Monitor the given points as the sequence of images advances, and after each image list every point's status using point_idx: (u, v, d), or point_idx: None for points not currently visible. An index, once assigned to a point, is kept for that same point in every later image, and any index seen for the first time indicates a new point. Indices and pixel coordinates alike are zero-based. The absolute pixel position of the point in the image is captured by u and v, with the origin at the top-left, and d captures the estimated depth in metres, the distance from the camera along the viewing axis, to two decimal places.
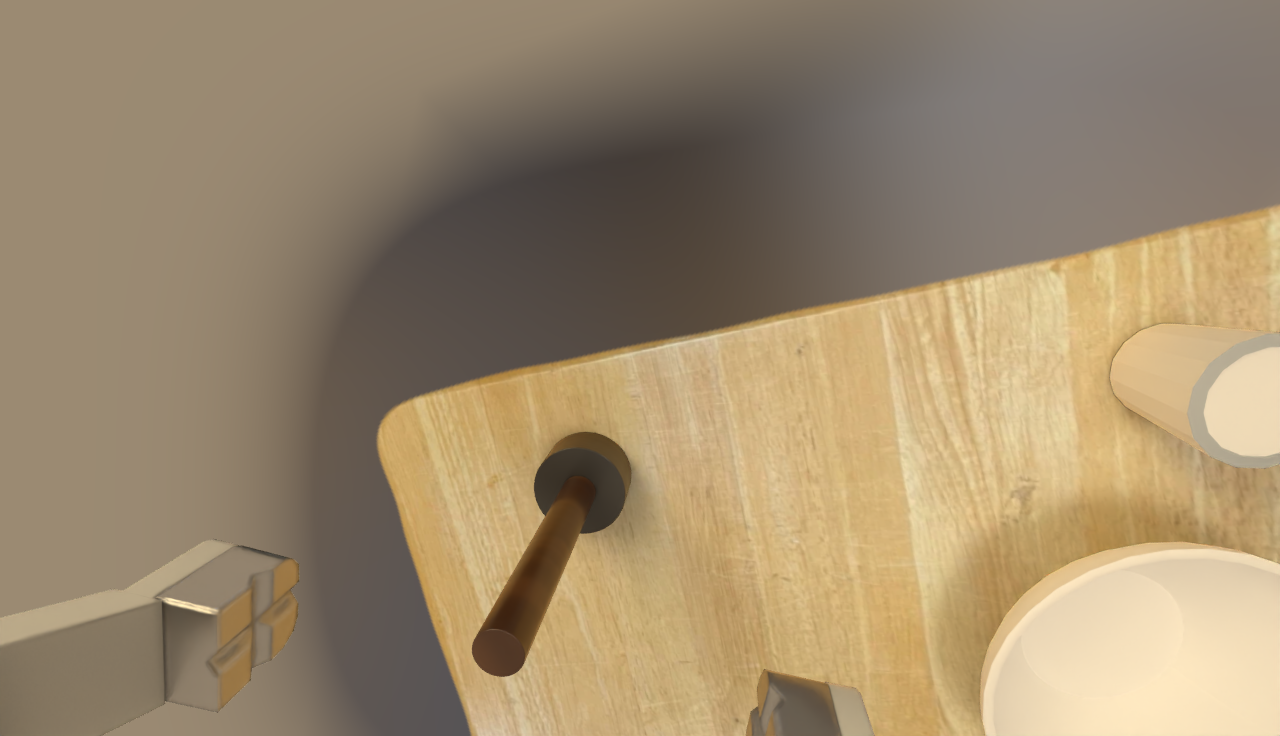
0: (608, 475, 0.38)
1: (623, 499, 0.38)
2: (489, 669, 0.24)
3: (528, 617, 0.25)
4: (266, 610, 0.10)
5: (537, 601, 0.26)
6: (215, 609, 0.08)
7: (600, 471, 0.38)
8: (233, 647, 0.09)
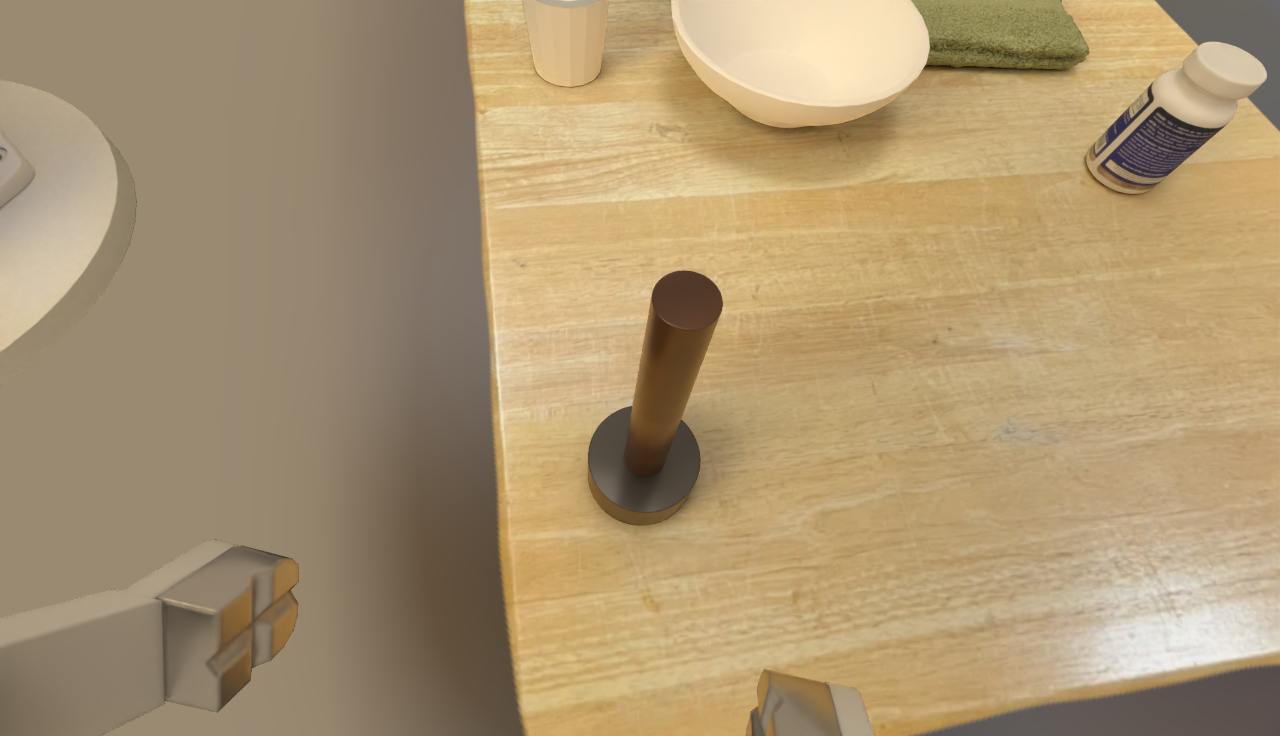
0: (624, 420, 0.32)
1: None
2: (712, 312, 0.18)
3: None
4: (266, 610, 0.10)
5: None
6: (215, 609, 0.08)
7: (619, 429, 0.32)
8: (233, 647, 0.09)
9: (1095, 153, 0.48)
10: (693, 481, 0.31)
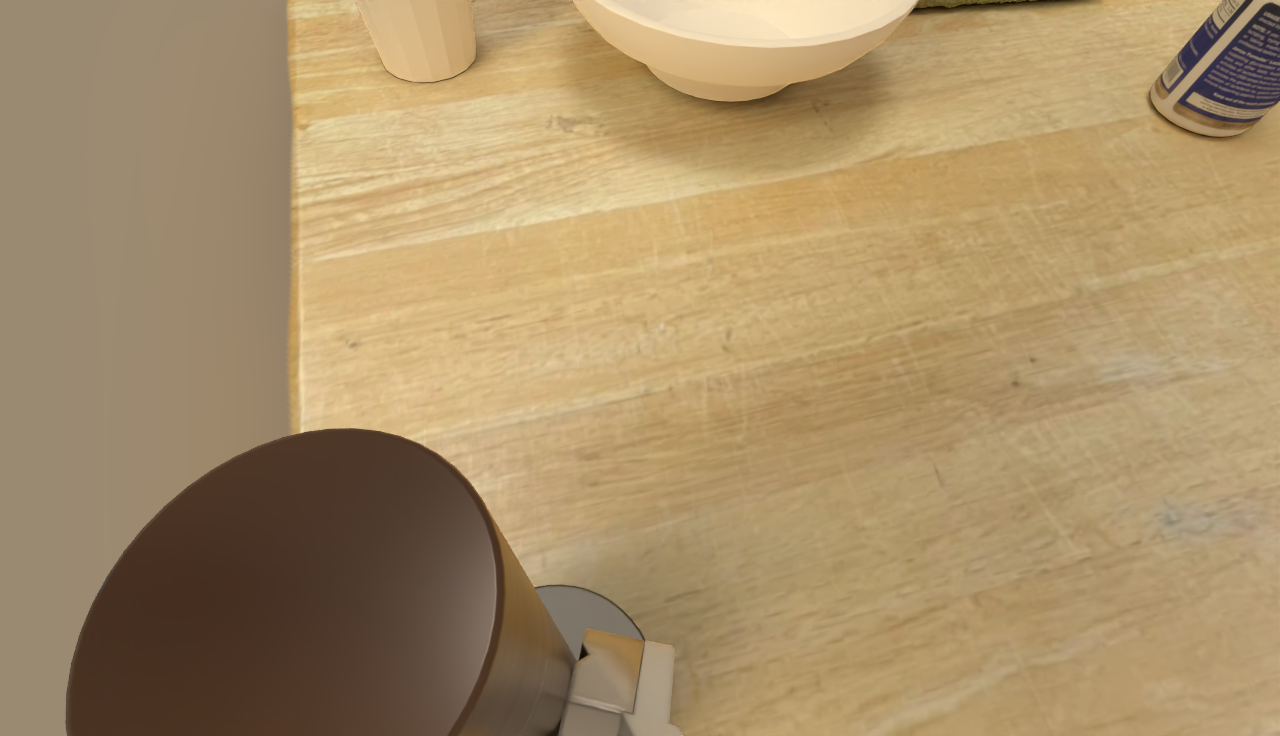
0: None
1: (566, 587, 0.18)
2: (436, 689, 0.03)
3: None
4: None
5: None
6: None
7: None
8: None
9: (1166, 88, 0.35)
10: None
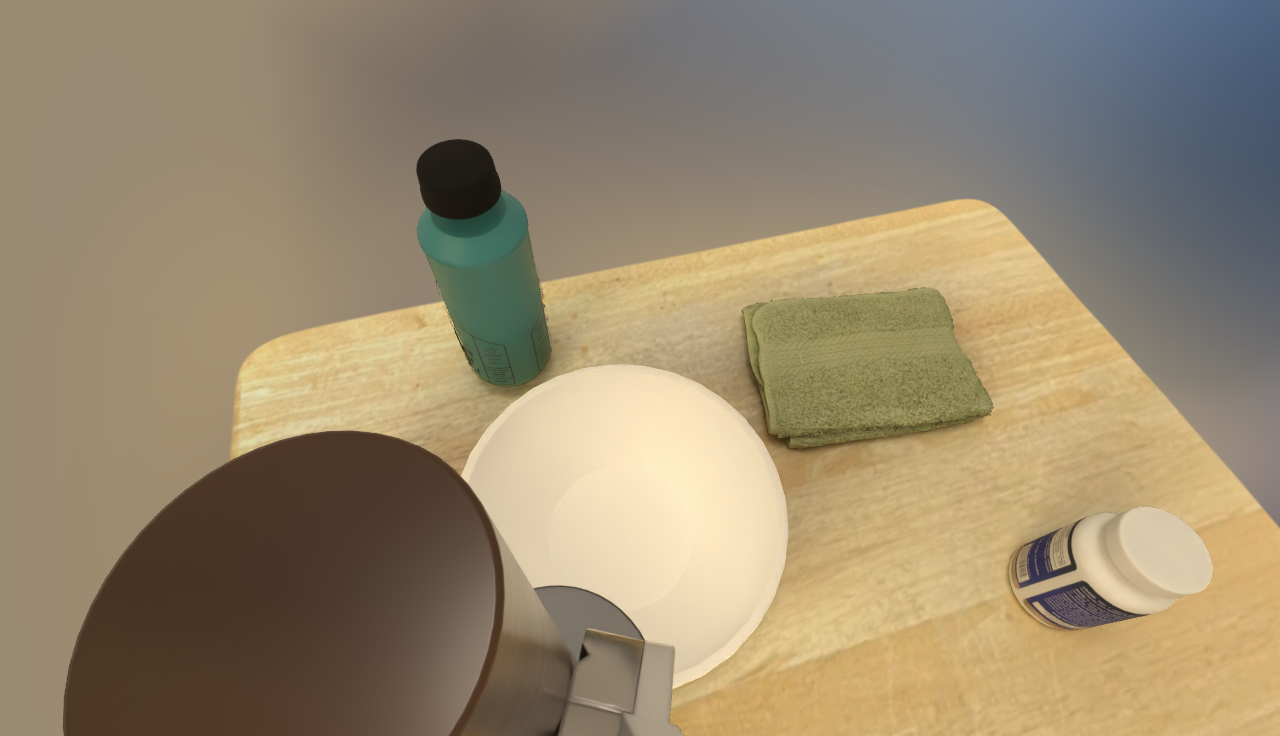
0: None
1: (566, 588, 0.18)
2: (435, 692, 0.03)
3: None
4: None
5: None
6: None
7: None
8: None
9: (1018, 581, 0.39)
10: None
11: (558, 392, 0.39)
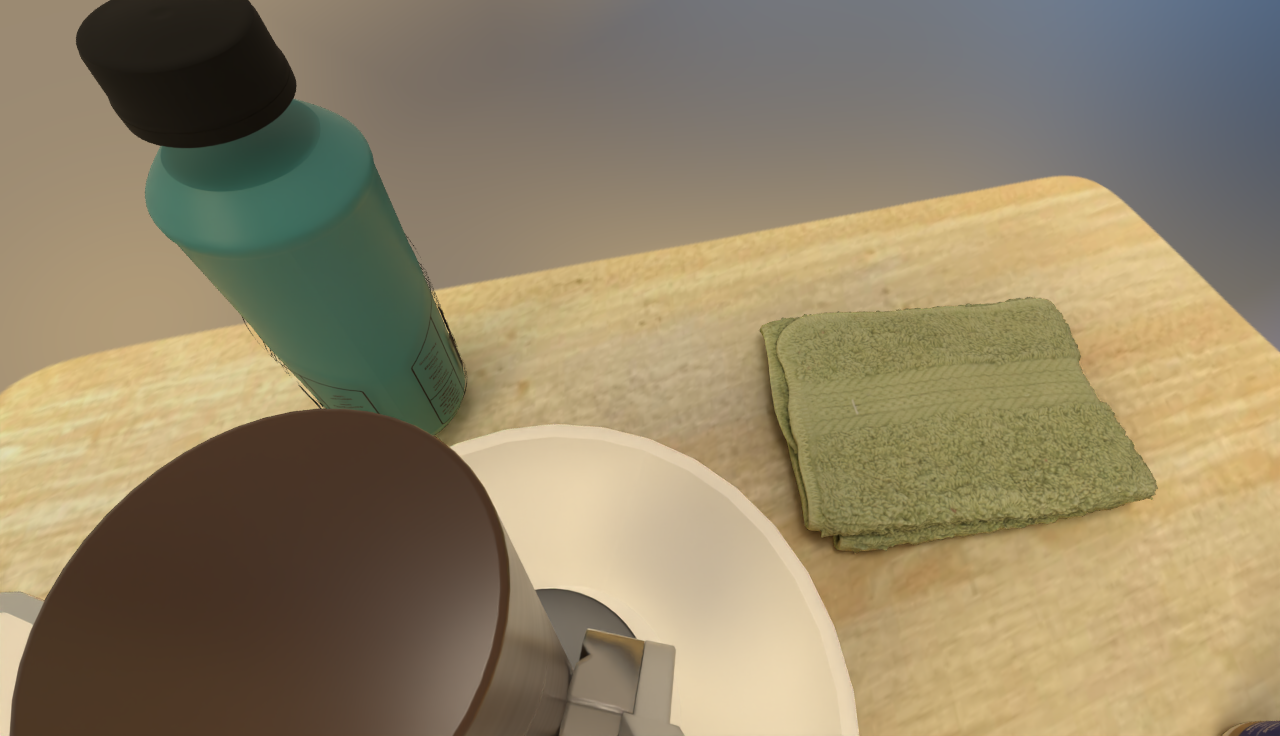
0: None
1: (559, 591, 0.17)
2: (432, 695, 0.03)
3: None
4: None
5: None
6: None
7: None
8: None
9: None
10: None
11: None
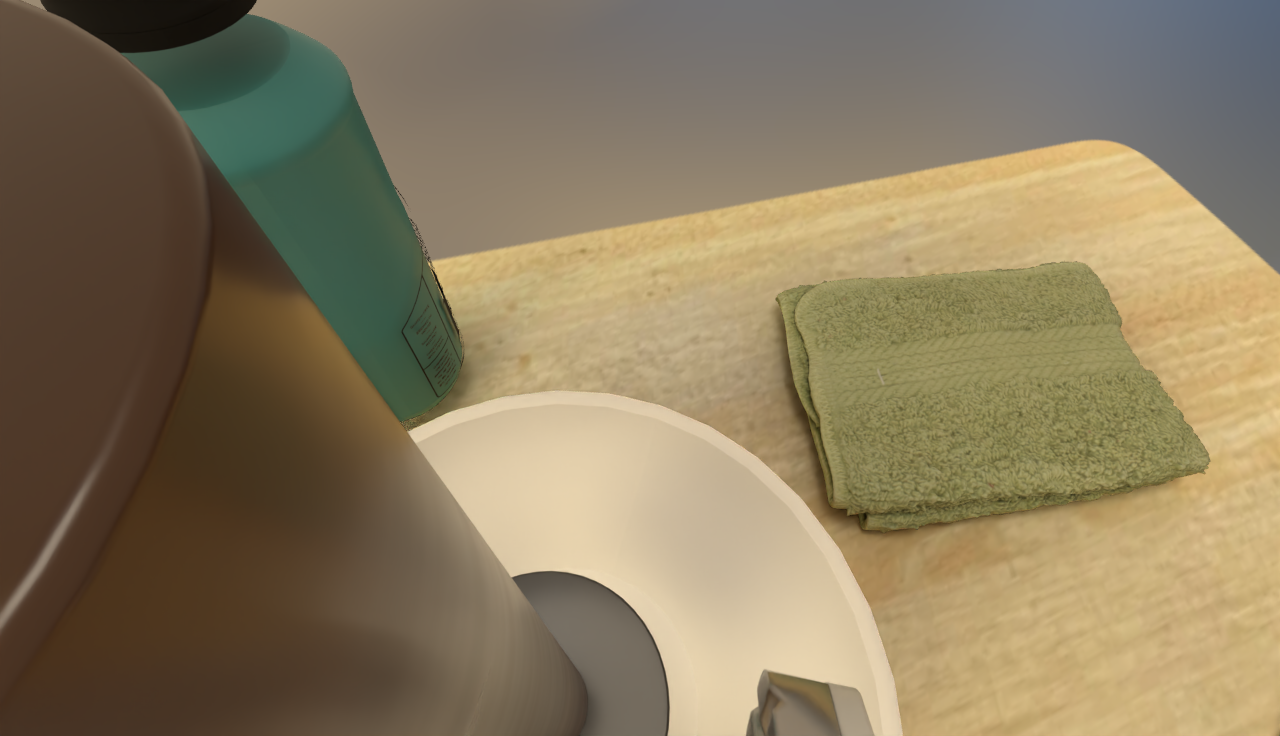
0: None
1: (571, 576, 0.15)
2: None
3: None
4: None
5: None
6: None
7: None
8: None
9: None
10: None
11: (448, 444, 0.21)
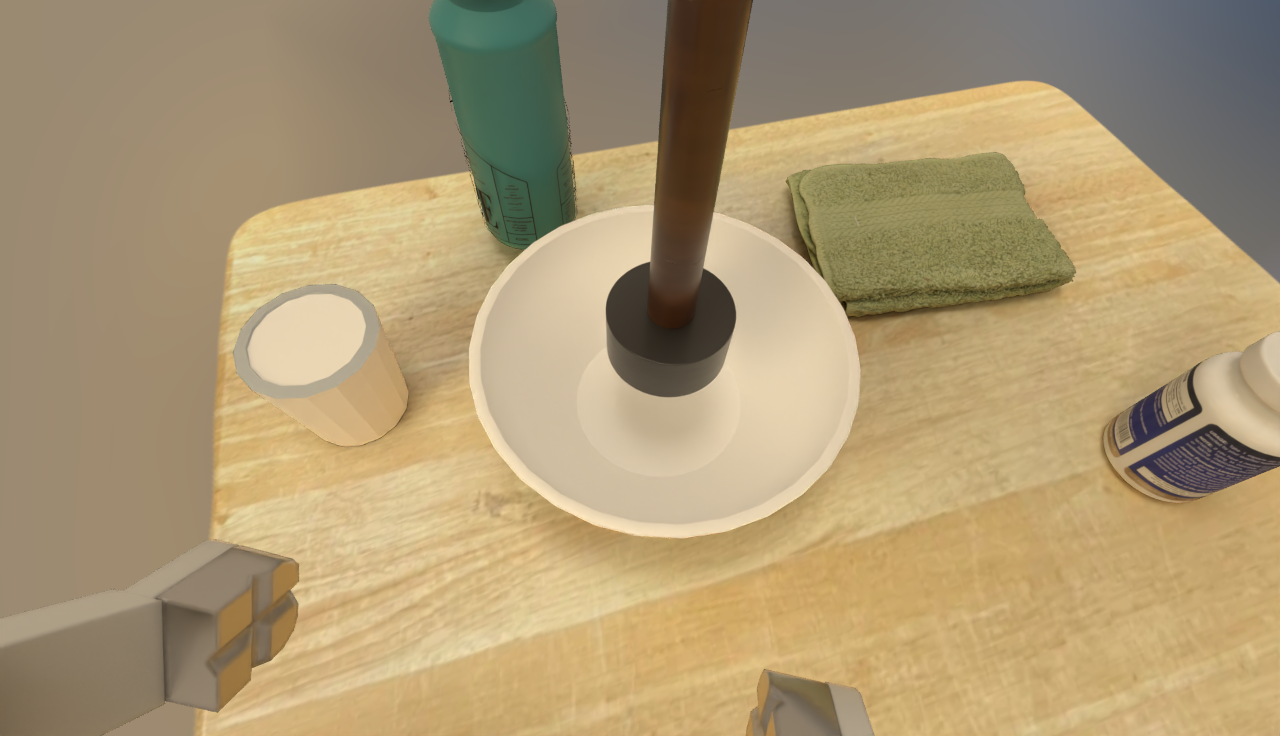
0: (647, 274, 0.28)
1: None
2: None
3: None
4: (266, 610, 0.10)
5: None
6: (215, 609, 0.08)
7: (641, 282, 0.28)
8: (233, 647, 0.09)
9: (1118, 447, 0.34)
10: (729, 333, 0.26)
11: (588, 235, 0.34)
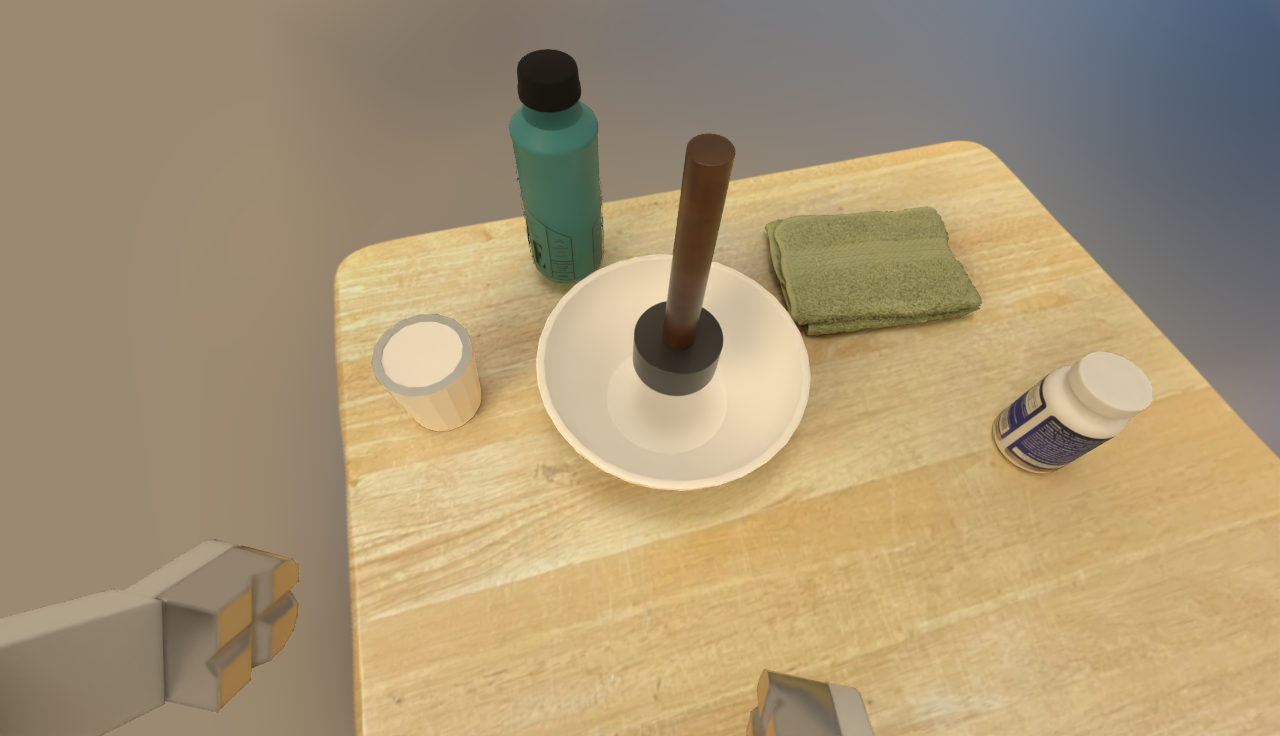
0: (661, 311, 0.40)
1: None
2: (728, 156, 0.26)
3: None
4: (266, 610, 0.10)
5: None
6: (215, 609, 0.08)
7: (658, 316, 0.40)
8: (233, 647, 0.09)
9: (1000, 433, 0.46)
10: (718, 353, 0.39)
11: (616, 276, 0.47)
